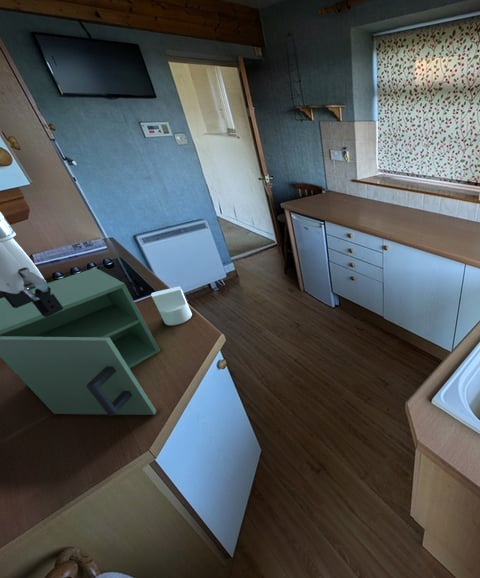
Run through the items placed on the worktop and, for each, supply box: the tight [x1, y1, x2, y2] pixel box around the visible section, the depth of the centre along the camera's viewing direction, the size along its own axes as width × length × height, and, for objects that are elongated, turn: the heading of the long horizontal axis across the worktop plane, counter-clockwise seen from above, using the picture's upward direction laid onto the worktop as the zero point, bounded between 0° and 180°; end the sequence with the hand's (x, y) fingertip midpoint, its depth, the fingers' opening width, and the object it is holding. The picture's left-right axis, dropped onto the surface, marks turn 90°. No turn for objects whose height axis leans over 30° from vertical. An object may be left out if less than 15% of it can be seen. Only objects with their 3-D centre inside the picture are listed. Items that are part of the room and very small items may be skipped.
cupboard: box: [0, 267, 161, 370], centre depth 83 cm, size 18×26×26 cm
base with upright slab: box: [150, 285, 193, 326], centre depth 108 cm, size 9×9×12 cm
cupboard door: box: [0, 336, 157, 417], centre depth 67 cm, size 7×26×26 cm, turn 90°
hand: (38, 308), depth 62 cm, fingers open, 9 cm apart
